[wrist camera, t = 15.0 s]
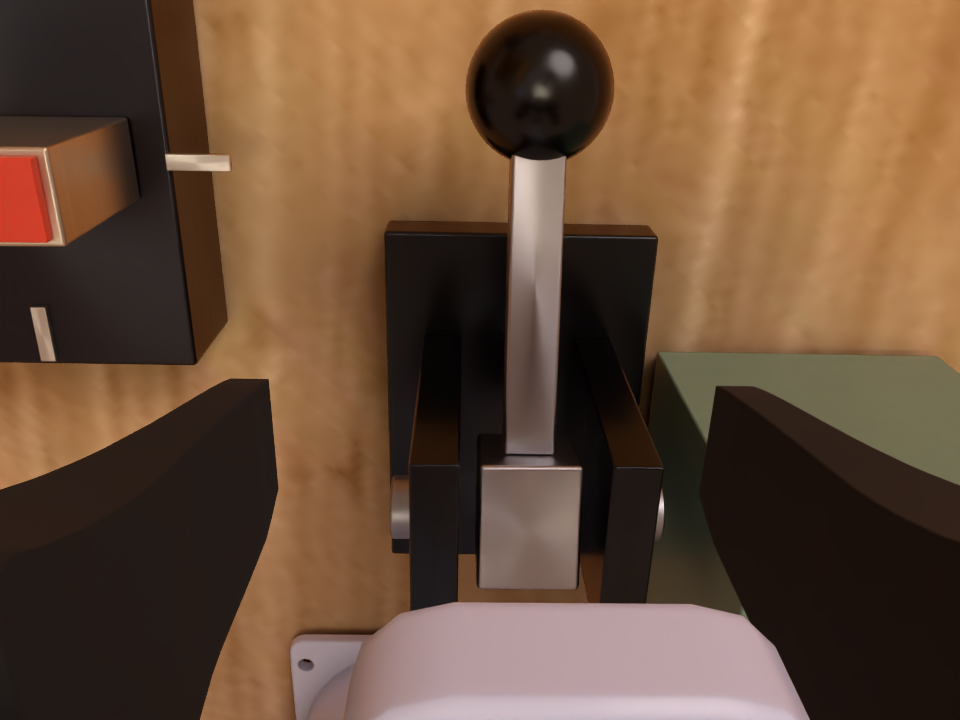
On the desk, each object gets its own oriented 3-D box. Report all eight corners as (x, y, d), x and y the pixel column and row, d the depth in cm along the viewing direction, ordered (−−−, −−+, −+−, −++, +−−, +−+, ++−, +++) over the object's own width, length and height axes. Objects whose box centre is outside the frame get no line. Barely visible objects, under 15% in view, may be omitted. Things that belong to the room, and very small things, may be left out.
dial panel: (277, 322, 23) (250, 370, 20) (-76, 316, 23) (-154, 364, 20) (243, -83, 19) (203, -96, 16) (-187, -95, 19) (-306, -111, 16)
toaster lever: (466, 24, 18) (467, -9, 15) (604, 27, 18) (632, -5, 15) (458, 538, 20) (457, 596, 17) (580, 539, 20) (600, 598, 17)
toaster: (859, 609, 28) (1032, 879, 19) (622, 607, 27) (691, 879, 19) (930, 349, 24) (1184, 544, 15) (653, 345, 23) (758, 540, 15)
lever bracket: (387, 219, 22) (351, 329, 15) (649, 224, 22) (738, 335, 15) (394, 530, 26) (368, 734, 19) (615, 533, 26) (671, 735, 19)
